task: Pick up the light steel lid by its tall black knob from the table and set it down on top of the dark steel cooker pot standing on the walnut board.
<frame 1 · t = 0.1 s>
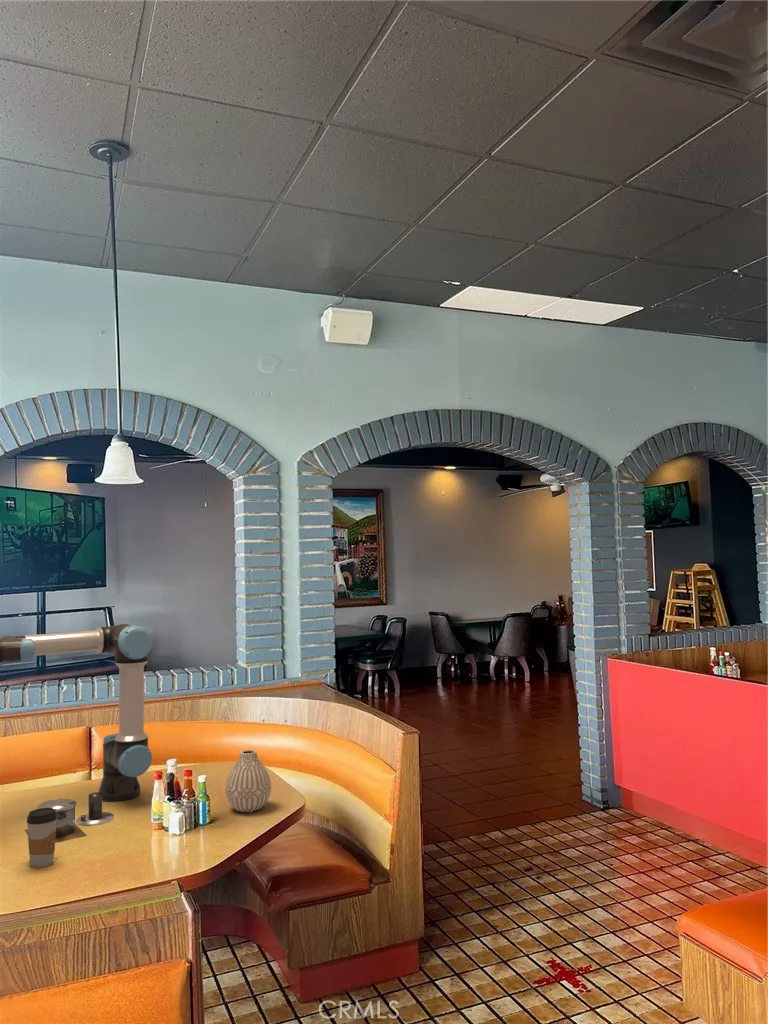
coffee cup: (41, 864, 227), on the table
lid: (95, 822, 262), on the table
cooker pot: (56, 832, 251), resting on walnut board
walnut board: (55, 835, 251), on the table
vase: (248, 809, 273), on the table
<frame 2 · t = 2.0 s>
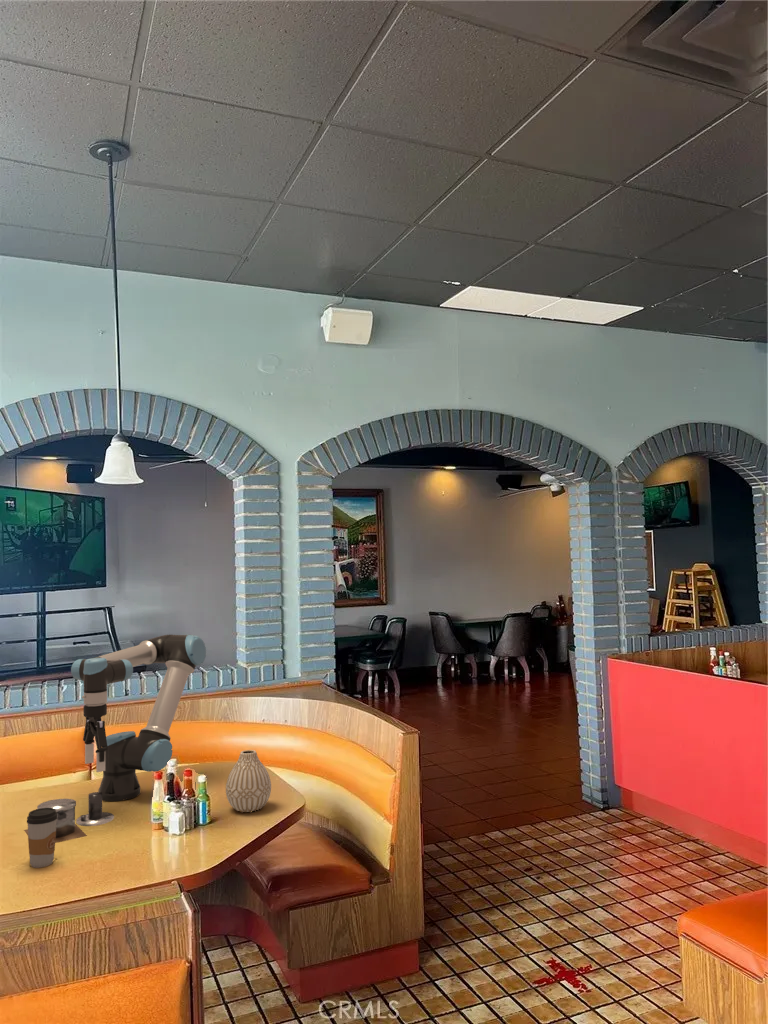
hand: (94, 767, 263), 18 cm above the table, fingers open, 13 cm apart
nothing on the table moved.
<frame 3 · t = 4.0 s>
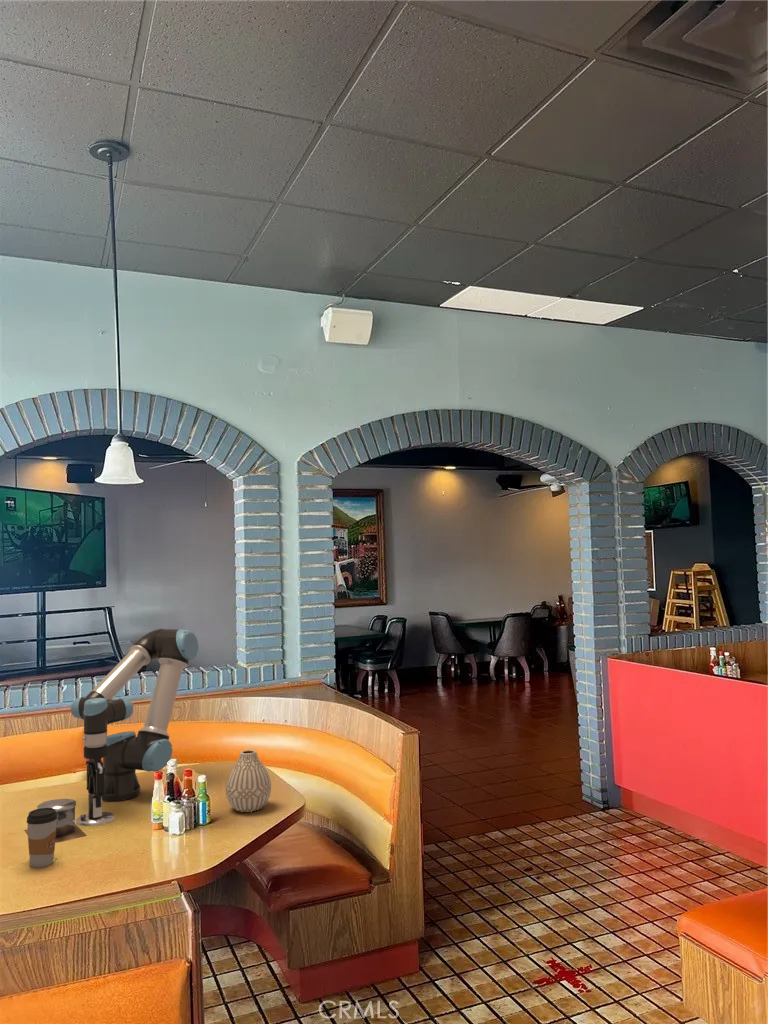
hand: (95, 814, 263), 3 cm above the table, fingers closed on lid, 4 cm apart
lid: (95, 822, 262), on the table, touching gripper
everything else where it was.
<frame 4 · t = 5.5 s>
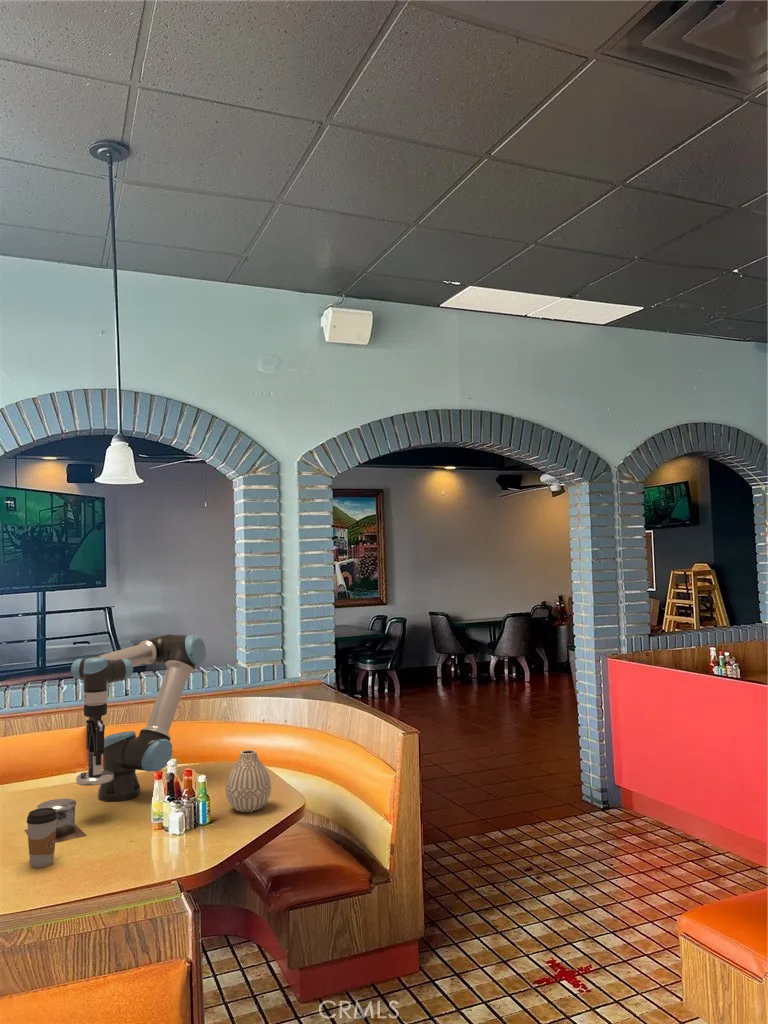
hand: (95, 772, 263), 17 cm above the table, fingers closed on lid, 4 cm apart
lid: (95, 780, 263), point 14 cm above the table, touching gripper
everything else where it was.
when the fingers open (14 cm above the table, at t = 7.1 s): lid drops 1 cm, resting on cooker pot.
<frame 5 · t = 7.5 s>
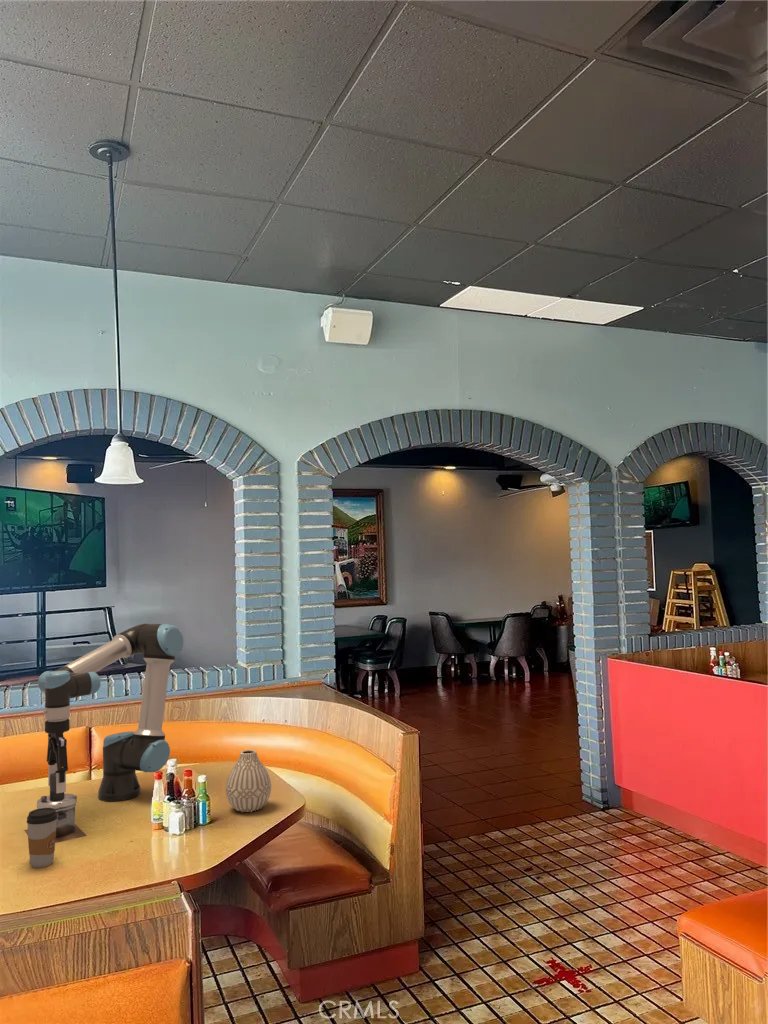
hand: (56, 788, 252), 15 cm above the table, fingers open, 10 cm apart
lid: (57, 804, 251), point 10 cm above the table, touching cooker pot
everything else where it was.
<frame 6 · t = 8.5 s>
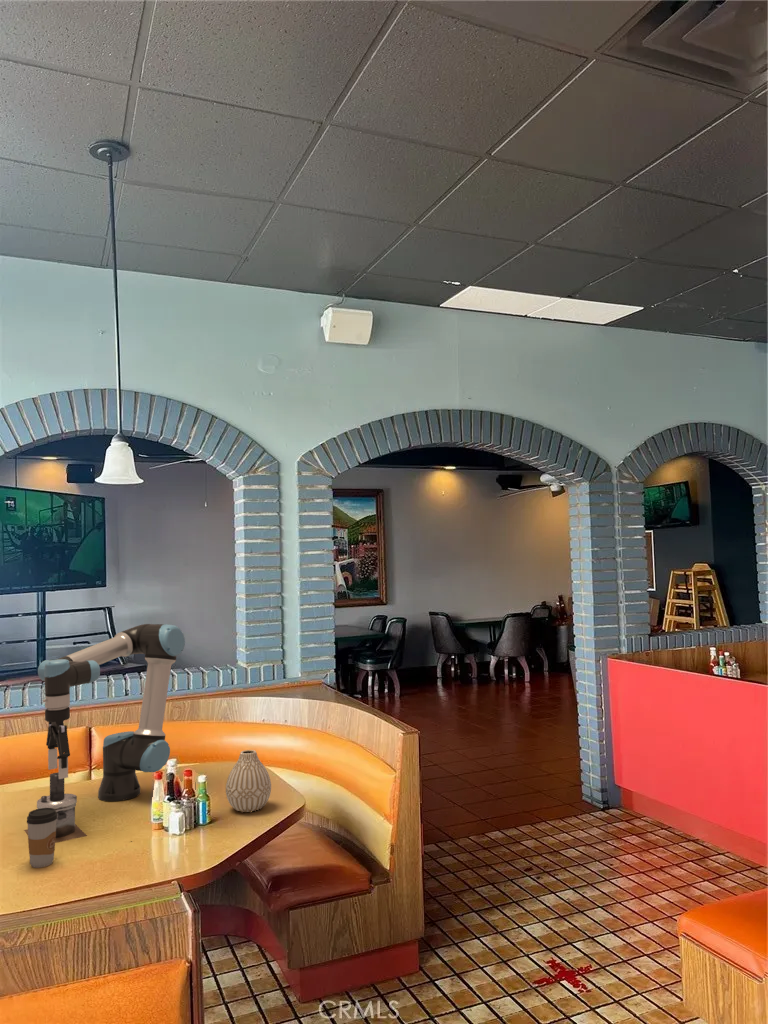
hand: (58, 773, 252), 20 cm above the table, fingers open, 13 cm apart
nothing on the table moved.
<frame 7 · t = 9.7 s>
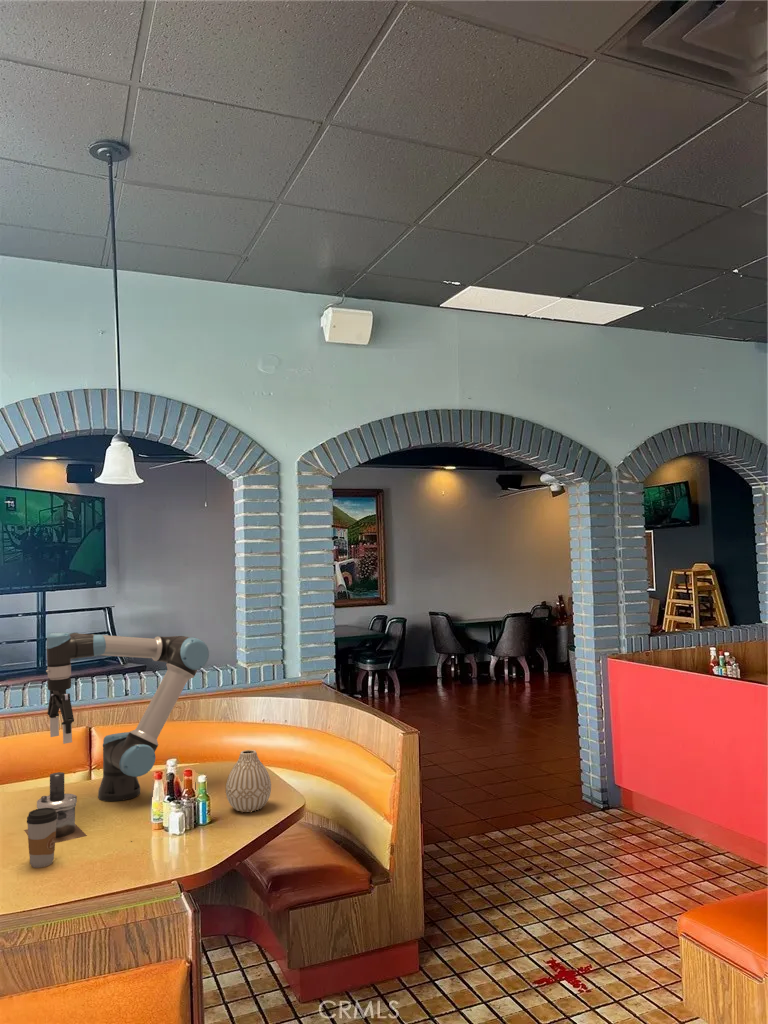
hand: (61, 739, 267), 27 cm above the table, fingers open, 13 cm apart
nothing on the table moved.
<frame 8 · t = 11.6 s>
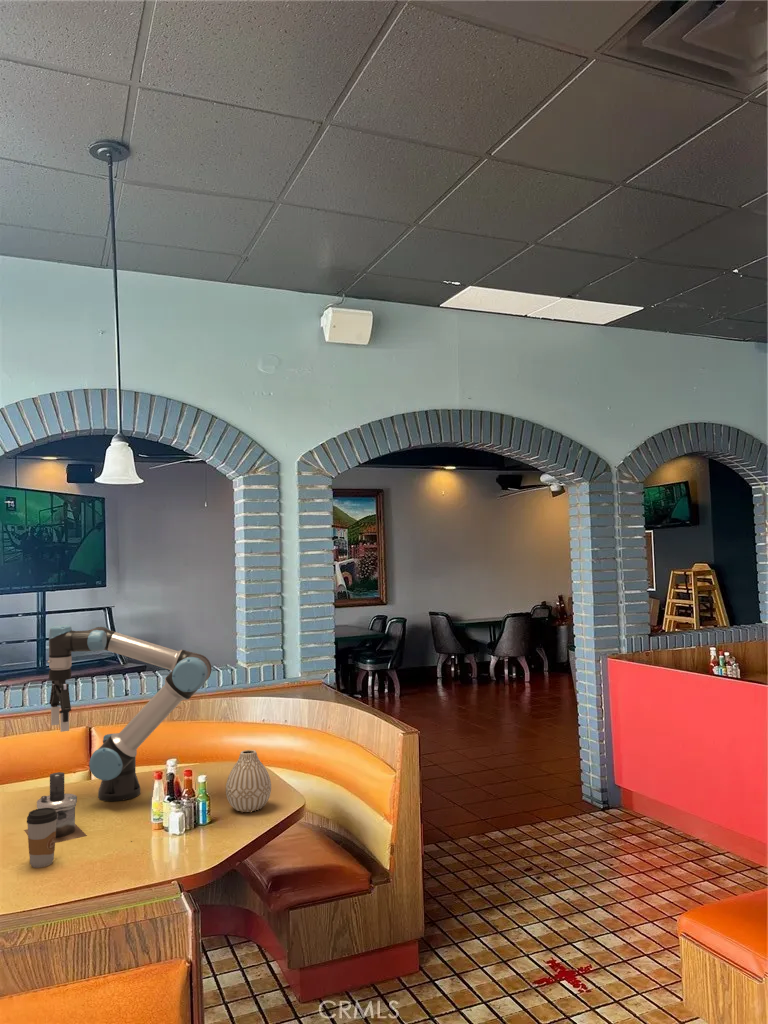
hand: (59, 727, 279), 29 cm above the table, fingers open, 13 cm apart
nothing on the table moved.
at the end: lid 0.1 cm off-centre on the cooker pot, point 9.0 cm above the cooker pot's base; lid tilted 0°; the gripper is holding nothing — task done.
